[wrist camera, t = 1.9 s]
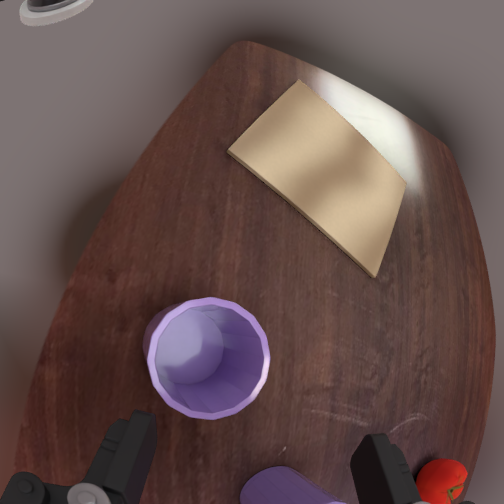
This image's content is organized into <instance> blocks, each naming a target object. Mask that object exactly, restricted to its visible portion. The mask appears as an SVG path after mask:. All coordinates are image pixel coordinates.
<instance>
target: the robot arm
mask: <svg viewBox="0 0 504 504" xmlns="http://www.w3.org/2000/svg"><path fill="white" fill-rule="evenodd" d="M0 1H3V0H0ZM76 1H78V0H27V8H28V10H29V11H31V12H47V11H52V10H56V9H59V8H62V7H65V6H68V5H70V4H72V3H74V2H76ZM156 446H157V429H156V417H155V414H152V413H148V412H144V411H140V410H137V409H135V410H134V412H133V413H132V416H131V418H130V420H129V421H126V420H123V419H118V420H117V421H116V422H115V423H113V424H112V425H111V426H110V427H109V429H108V431H107V433H106V435H105V438H104V439H103V441H102V443H101V446H100V447H99V449H98V451H97V453H96V455H95V457H94V460H93V462H92V464H91V466H90V468H89V470H88V472H87V474H86V476H85V478H84V479H83V480H82V481H81V482H80V483H78V484H76V485H73V486H60V485H54V484H49V483H44V482H42V481H41V480H40V479H39V478H38V477H37V476H36V475H34V474H32V473H30V472H18V473H16V474H14V475H13V476H12V477H11V479H10V481H9V483H8V485H7V487H6V489H5V491H4V493H3V495H2V497H1V499H0V504H139V501H140V498H141V495H142V492H143V488H144V485H145V482H146V479H147V475H148V472H149V469H150V466H151V463H152V460H153V457H154V453H155V450H156ZM350 467H351V472H352V476H353V480H354V484H355V488H356V492H357V496H358V500H359V504H430V503H428V502H423V500H422V499H421V497H420V494H419V491H418V489H417V486H416V484H415V481H414V479H413V476H412V474H411V472H410V469H409V467H408V464H406V459H405V457H404V455H403V452H402V451H401V450H400V449H399V448H398V447H397V446H396V445H395V444H390V441H389V439H388V437H387V435H386V434H384V433H380V434H368V435H366V436H365V437H364V438H363V440H362V441H361V443H360V445H359V446H358V448H357V449H356V451H355V452H354V454H353V455H352V458H351V462H350ZM460 504H474V503H473V502H470V501H464V502H461V503H460Z"/></svg>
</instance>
